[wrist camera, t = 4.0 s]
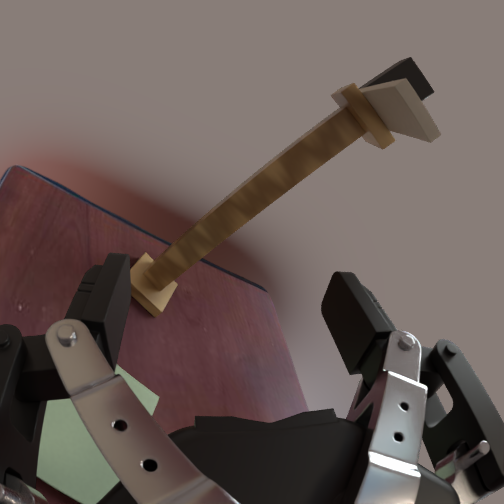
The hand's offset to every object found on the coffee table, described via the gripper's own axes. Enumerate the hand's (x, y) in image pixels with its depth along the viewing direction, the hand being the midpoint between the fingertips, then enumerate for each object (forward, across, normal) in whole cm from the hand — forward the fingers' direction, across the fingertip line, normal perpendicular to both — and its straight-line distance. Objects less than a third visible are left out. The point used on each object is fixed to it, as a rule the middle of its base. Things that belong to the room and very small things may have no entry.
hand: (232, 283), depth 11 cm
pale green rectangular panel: (+1, +10, +18) cm, 20 cm away
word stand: (+21, +6, +17) cm, 27 cm away
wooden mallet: (+12, -11, -8) cm, 18 cm away
